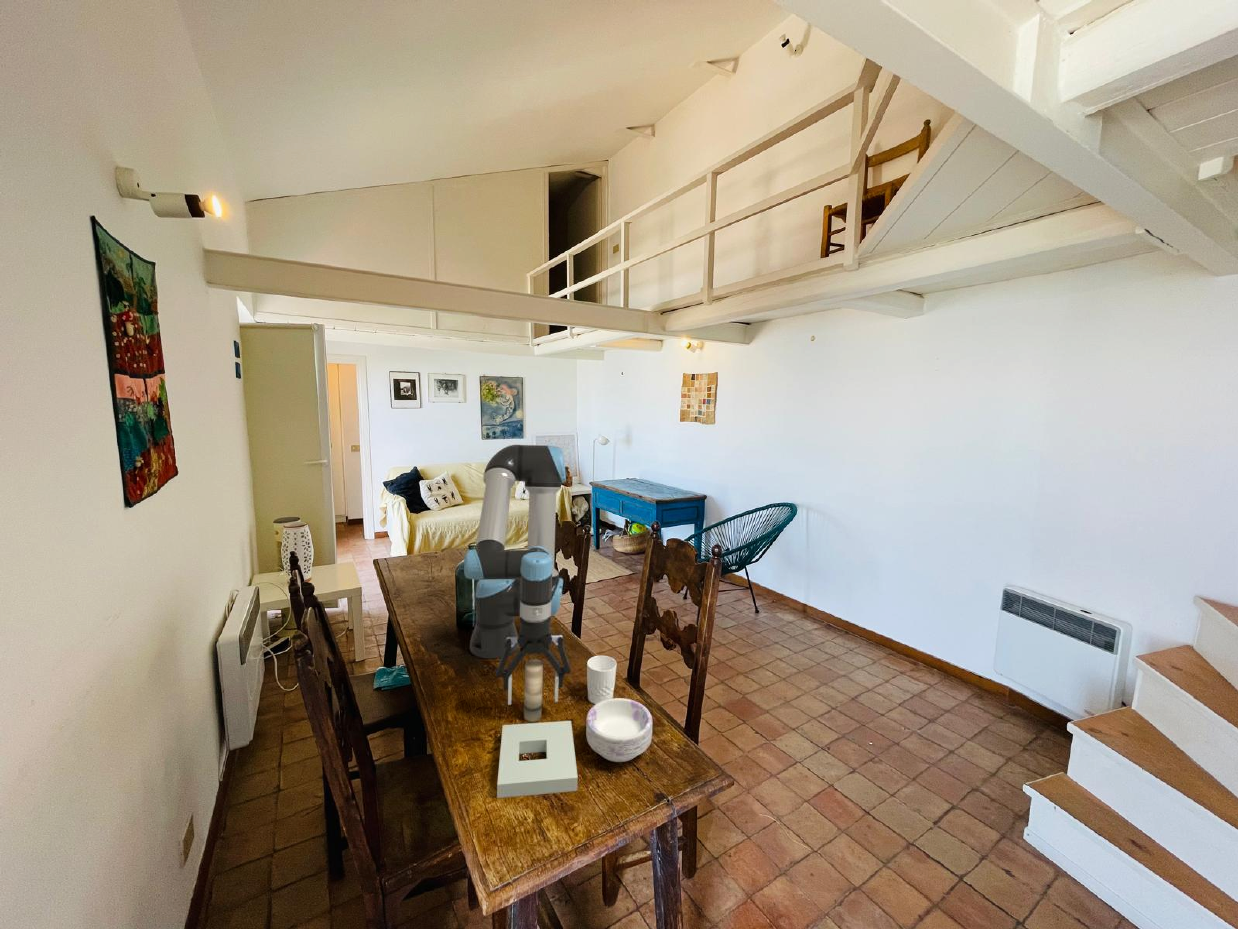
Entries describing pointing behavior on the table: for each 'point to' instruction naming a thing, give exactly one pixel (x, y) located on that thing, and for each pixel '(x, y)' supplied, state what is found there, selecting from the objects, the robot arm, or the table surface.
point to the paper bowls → (619, 729)
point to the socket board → (542, 773)
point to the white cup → (600, 678)
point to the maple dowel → (533, 690)
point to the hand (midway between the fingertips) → (533, 700)
